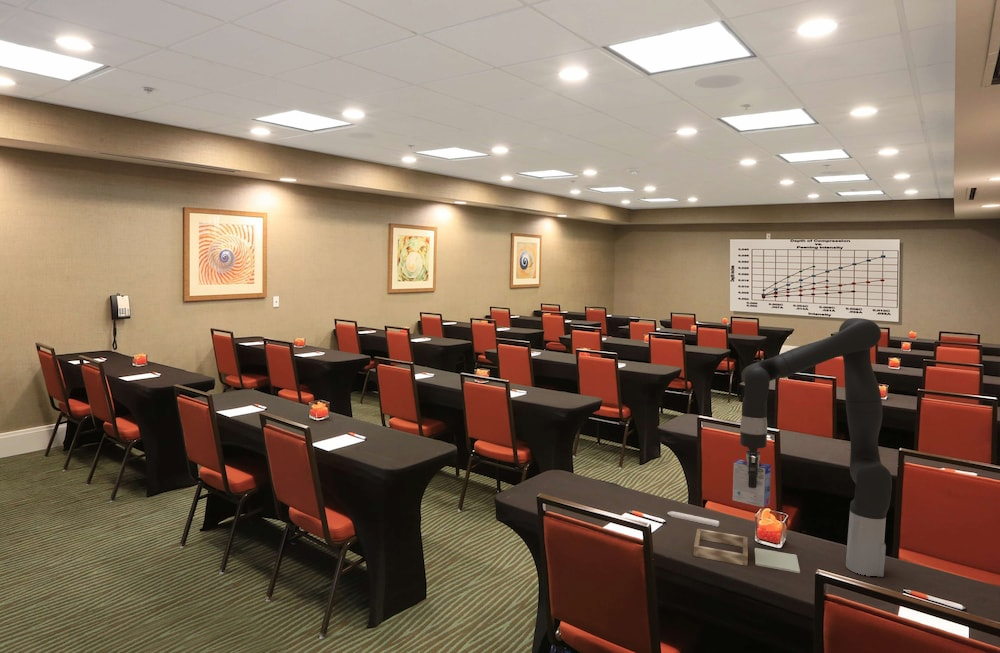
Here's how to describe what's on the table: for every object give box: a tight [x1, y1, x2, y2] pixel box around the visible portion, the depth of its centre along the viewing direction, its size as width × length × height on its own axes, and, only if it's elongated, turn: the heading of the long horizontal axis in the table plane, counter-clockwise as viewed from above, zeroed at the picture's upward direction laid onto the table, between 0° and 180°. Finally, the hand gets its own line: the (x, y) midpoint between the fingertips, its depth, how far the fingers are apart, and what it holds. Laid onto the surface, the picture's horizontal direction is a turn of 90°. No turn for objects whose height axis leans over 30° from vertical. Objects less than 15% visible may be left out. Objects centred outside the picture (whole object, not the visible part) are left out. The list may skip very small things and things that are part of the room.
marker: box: [667, 511, 720, 528], centre depth 216 cm, size 18×2×2 cm, turn 60°
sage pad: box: [754, 547, 801, 574], centre depth 185 cm, size 12×12×1 cm
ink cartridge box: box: [732, 458, 772, 508], centre depth 187 cm, size 10×6×14 cm, turn 48°
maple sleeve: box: [692, 528, 749, 567], centre depth 191 cm, size 15×15×3 cm
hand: (752, 484), depth 187 cm, fingers closed on ink cartridge box, 6 cm apart
